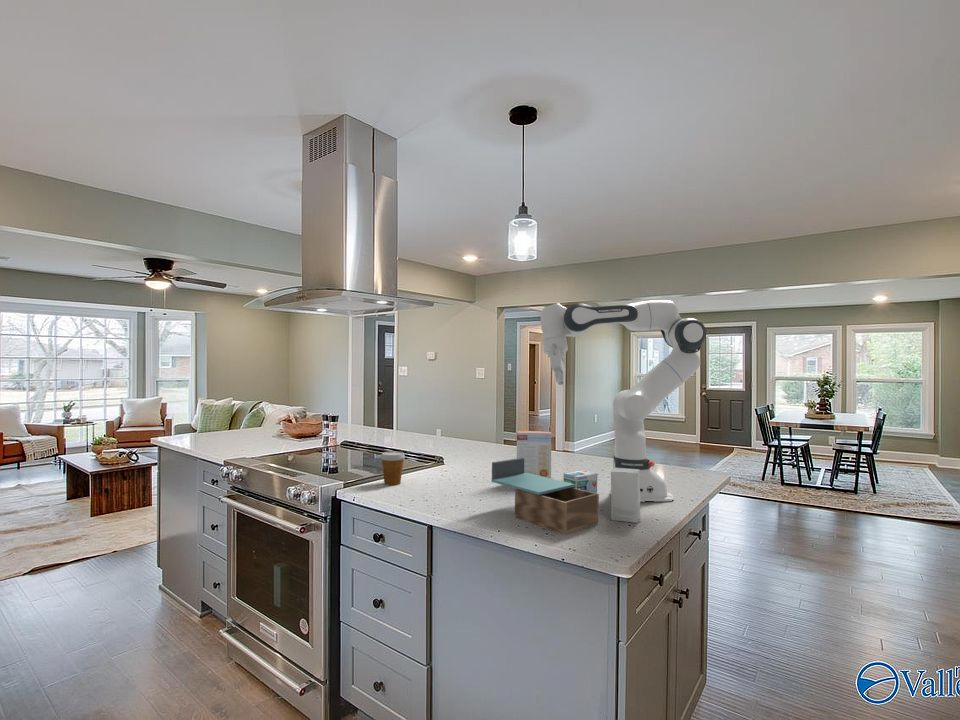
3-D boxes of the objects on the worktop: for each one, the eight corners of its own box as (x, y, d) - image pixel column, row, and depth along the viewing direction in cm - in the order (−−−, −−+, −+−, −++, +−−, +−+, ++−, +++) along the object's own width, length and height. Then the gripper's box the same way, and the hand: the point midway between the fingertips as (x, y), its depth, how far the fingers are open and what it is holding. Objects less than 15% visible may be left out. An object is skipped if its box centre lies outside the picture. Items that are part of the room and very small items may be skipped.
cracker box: (550, 481, 208) (551, 431, 208) (551, 485, 202) (551, 433, 202) (516, 480, 209) (517, 430, 209) (515, 484, 203) (516, 431, 203)
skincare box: (640, 518, 160) (641, 469, 160) (637, 524, 154) (638, 473, 154) (613, 514, 164) (614, 466, 164) (609, 520, 158) (610, 470, 158)
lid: (488, 480, 167) (488, 462, 167) (524, 474, 178) (524, 457, 178) (539, 495, 150) (539, 474, 150) (574, 486, 162) (575, 467, 162)
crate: (514, 517, 158) (515, 488, 159) (548, 508, 169) (548, 481, 169) (564, 534, 143) (565, 502, 144) (598, 523, 154) (598, 493, 154)
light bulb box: (576, 508, 170) (577, 476, 170) (562, 504, 175) (562, 472, 175) (597, 504, 176) (598, 473, 176) (583, 499, 181) (583, 469, 182)
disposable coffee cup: (384, 480, 206) (385, 450, 206) (407, 481, 204) (408, 451, 204) (376, 485, 196) (377, 454, 196) (400, 487, 195) (401, 455, 195)
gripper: (561, 341, 178) (566, 379, 176) (565, 350, 198) (570, 385, 196) (544, 343, 180) (548, 382, 177) (549, 352, 199) (554, 387, 197)
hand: (560, 383), depth 187 cm, fingers open, 8 cm apart
